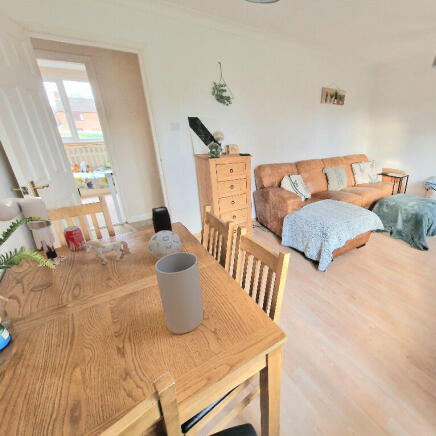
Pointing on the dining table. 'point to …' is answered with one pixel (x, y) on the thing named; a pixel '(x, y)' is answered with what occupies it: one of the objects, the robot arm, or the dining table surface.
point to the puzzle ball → (164, 244)
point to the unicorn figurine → (106, 249)
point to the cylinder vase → (180, 291)
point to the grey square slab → (53, 261)
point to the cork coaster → (41, 286)
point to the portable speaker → (161, 219)
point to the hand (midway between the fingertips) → (52, 257)
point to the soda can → (74, 238)
